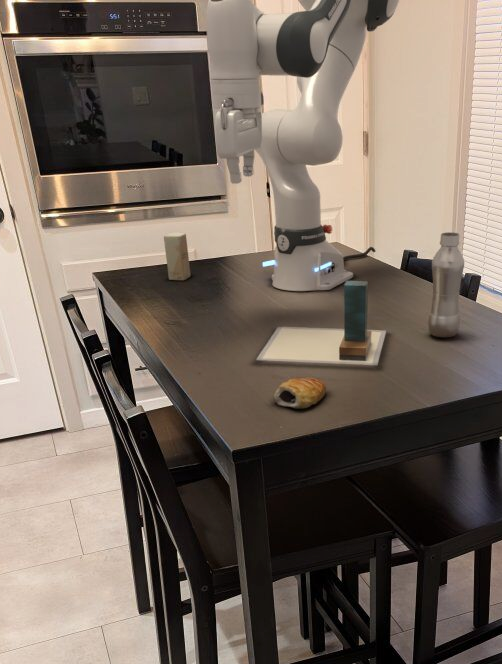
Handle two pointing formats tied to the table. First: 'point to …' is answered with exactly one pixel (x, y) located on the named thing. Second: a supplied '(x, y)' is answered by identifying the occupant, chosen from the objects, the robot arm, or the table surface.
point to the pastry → (300, 392)
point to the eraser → (355, 322)
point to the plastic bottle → (446, 287)
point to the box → (177, 256)
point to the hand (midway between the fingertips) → (242, 179)
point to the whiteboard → (315, 346)
